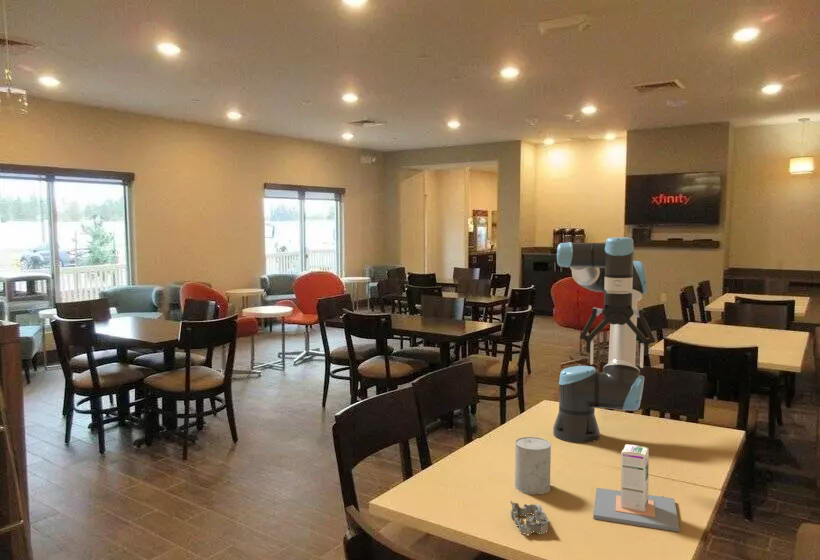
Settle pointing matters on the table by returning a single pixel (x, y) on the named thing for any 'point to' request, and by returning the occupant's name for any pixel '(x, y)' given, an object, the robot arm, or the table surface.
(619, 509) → the board
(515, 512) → the grey irregular lumpy piece
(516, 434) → the table surface
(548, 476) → the grey marbled cylinder
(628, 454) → the syrup box
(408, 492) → the table surface
